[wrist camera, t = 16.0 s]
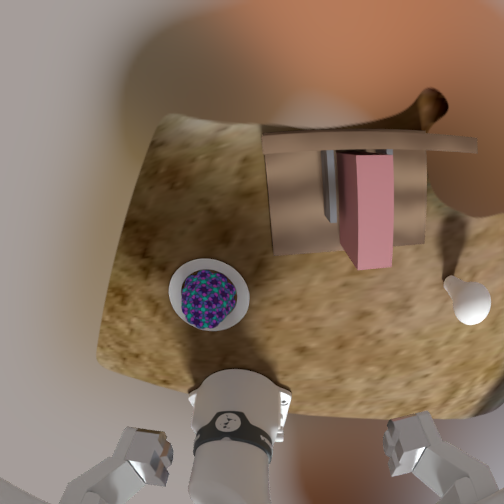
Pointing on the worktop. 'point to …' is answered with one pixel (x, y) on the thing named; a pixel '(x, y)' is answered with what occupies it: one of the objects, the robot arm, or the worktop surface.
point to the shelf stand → (326, 182)
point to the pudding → (208, 295)
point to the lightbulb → (468, 300)
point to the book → (366, 207)
